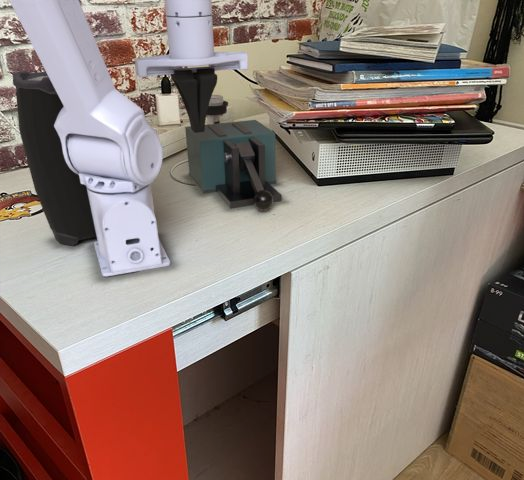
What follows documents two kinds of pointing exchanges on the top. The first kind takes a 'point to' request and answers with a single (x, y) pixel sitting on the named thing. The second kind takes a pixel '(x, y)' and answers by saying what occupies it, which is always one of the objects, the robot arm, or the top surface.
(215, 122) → the push button
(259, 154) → the lever bracket
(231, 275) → the top surface
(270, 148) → the toaster body
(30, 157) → the portable speaker
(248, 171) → the toaster lever
